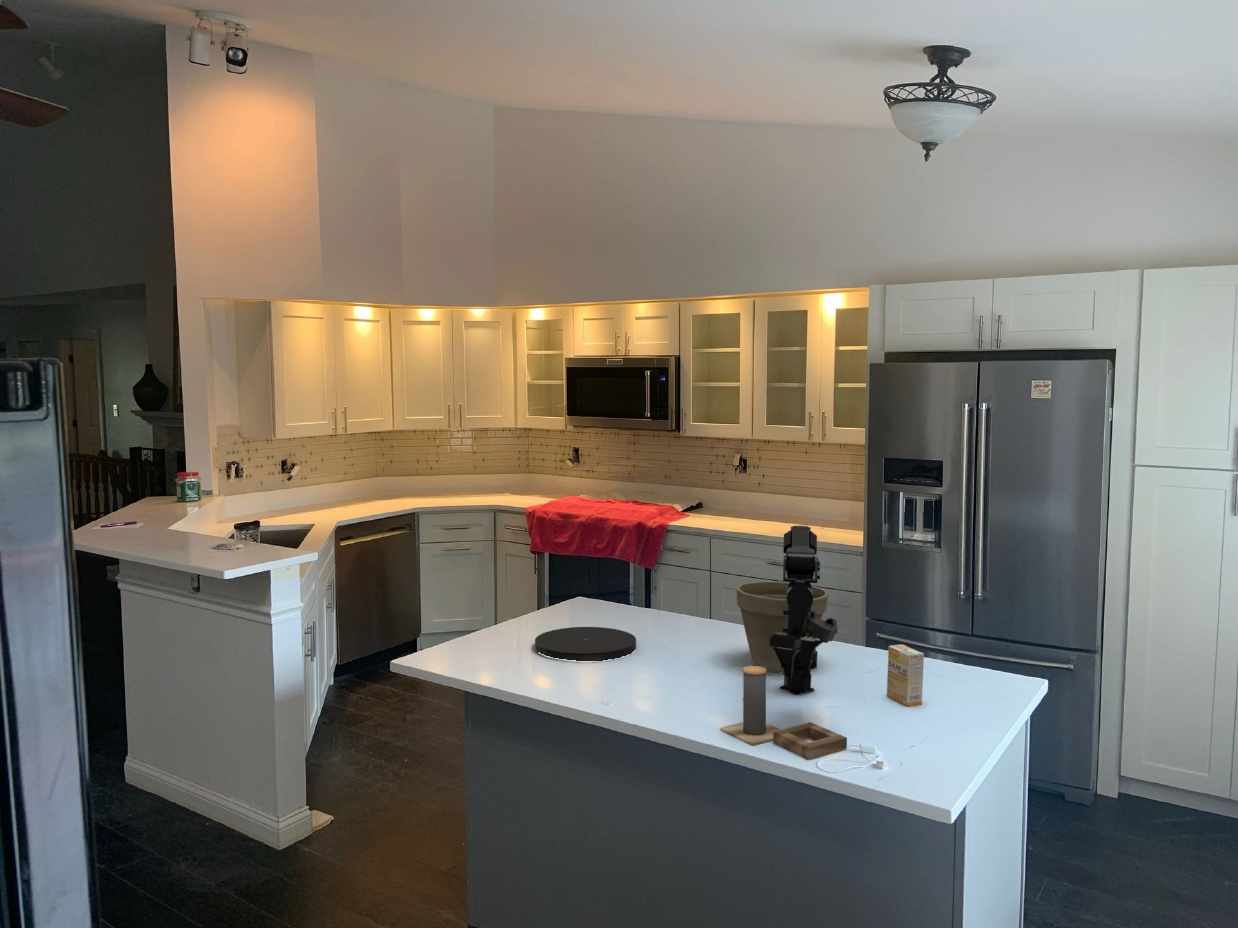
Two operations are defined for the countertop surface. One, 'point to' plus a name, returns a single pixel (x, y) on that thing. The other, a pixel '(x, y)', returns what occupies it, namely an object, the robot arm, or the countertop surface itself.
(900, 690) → the supplement box
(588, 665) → the countertop surface
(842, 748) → the wooden square frame
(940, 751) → the countertop surface
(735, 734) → the cork mat
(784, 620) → the plant pot
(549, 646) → the disc
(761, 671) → the plug
